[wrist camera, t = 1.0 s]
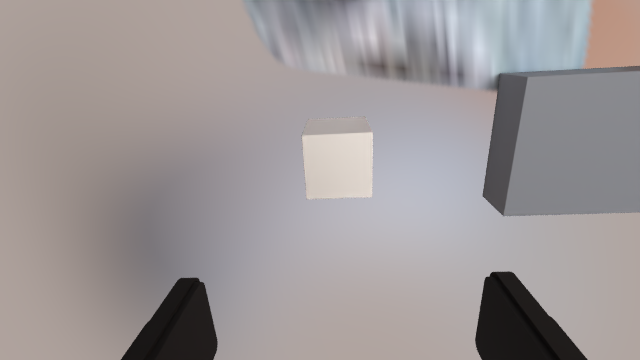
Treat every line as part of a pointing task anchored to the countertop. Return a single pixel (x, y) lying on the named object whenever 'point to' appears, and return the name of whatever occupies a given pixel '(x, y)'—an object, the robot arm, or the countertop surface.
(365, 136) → the cube
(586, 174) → the plinth
